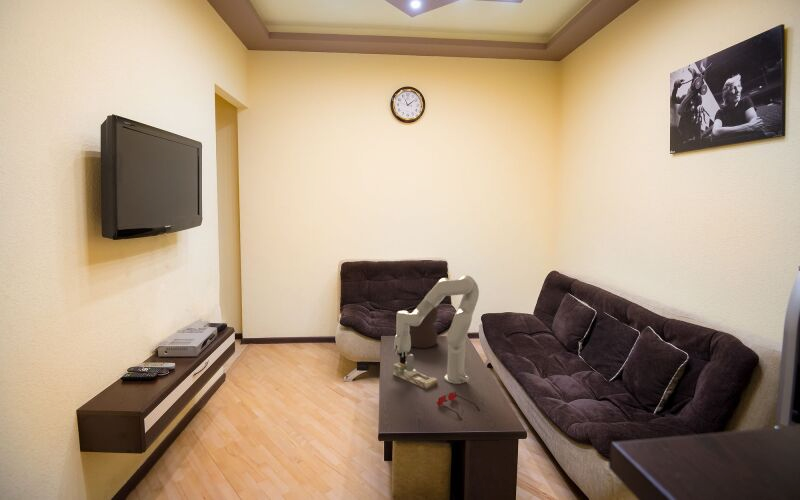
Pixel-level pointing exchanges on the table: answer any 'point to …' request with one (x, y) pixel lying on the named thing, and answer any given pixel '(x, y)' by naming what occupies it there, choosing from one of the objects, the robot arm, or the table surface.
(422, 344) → the vase
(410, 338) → the robot arm
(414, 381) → the board
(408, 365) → the carriage
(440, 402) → the glasses
